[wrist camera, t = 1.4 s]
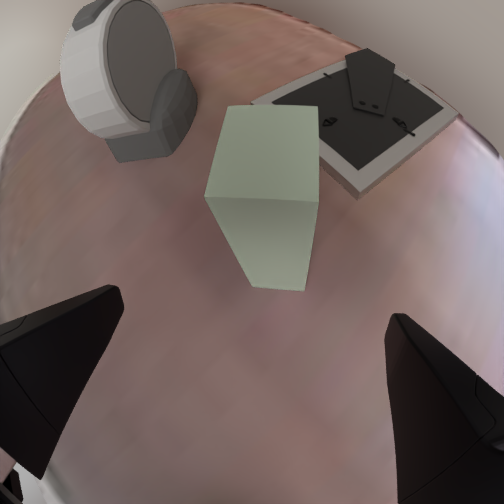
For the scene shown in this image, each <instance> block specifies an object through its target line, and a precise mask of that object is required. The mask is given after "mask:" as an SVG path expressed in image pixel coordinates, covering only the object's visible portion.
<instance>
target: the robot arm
mask: <svg viewBox="0 0 504 504" xmlns="http://www.w3.org/2000/svg"><path fill="white" fill-rule="evenodd" d="M123 312H124V303H123V300H122V296H121V292H120V289H119V287H117V286H115V285H105V286H102V287H100V288H97V289H94V290H92V291H89V292H86V293H83V294H81V295H78V296H75V297H73V298H70V299H67V300H65V301H62V302H59V303H57V304H54V305H51V306H49V307H46V308H44V309H41V310H38V311H36V312H33V313H31V314H28V315H25V316H23V317H20V318H17V319H15V320H12V321H9V322H7V323H4V324H1V325H0V504H23V503H22V501H23V495H22V490H21V485H20V480H19V474H18V472H17V471H15V470H14V469H13V467H14V465H15V464H16V462H18V463H19V464H20V465H21V466H22V467H24V468H25V469H26V470H27V471H29V472H30V473H31V474H33V475H34V476H35V477H37V478H38V479H39V480H41V479H42V477H43V475H44V473H45V470H46V468H47V465H48V463H49V461H50V458H51V456H52V454H53V452H54V449H55V447H56V445H57V443H58V440H59V438H60V435H61V434H62V431H63V429H64V427H65V425H66V423H67V421H68V419H69V417H70V415H71V413H72V411H73V409H74V407H75V405H76V403H77V401H78V399H79V397H80V395H81V393H82V391H83V389H84V388H85V386H86V384H87V382H88V380H89V378H90V376H91V375H92V373H93V371H94V369H95V367H96V365H97V364H98V362H99V360H100V358H101V357H102V355H103V353H104V351H105V350H106V348H107V346H108V344H109V342H110V340H111V338H112V335H113V333H114V331H115V329H116V327H117V325H118V322H119V320H120V318H121V316H122V314H123ZM384 342H385V356H386V373H387V386H388V393H389V400H390V407H391V414H392V422H393V431H394V441H395V453H396V468H397V492H398V504H504V397H503V396H502V395H501V394H499V393H498V392H497V391H496V390H495V389H493V388H492V387H491V386H490V385H489V384H488V383H487V382H485V381H484V380H483V379H482V378H481V377H480V376H479V375H476V373H475V372H474V371H473V370H472V369H471V368H470V367H468V366H467V365H466V364H465V363H464V362H463V361H462V360H460V359H459V358H458V357H457V356H456V355H455V354H453V353H452V352H451V351H450V350H449V349H448V348H446V347H445V346H444V345H443V344H442V343H440V342H439V341H438V340H437V339H436V338H434V337H433V336H432V335H431V334H430V333H428V332H427V331H426V330H425V329H424V328H422V327H421V326H420V325H419V324H417V323H416V322H415V321H414V320H412V319H411V318H410V317H409V316H408V315H406V314H404V313H394V314H392V316H391V318H390V321H389V324H388V327H387V330H386V333H385V339H384Z"/></svg>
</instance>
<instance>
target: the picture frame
mask: <svg viewBox="0 0 504 504" xmlns="http://www.w3.org/2000/svg"><path fill="white" fill-rule="evenodd" d="M345 58H346V60H343V61H340V62H338V63H335V64H332V65H330V66H327V67H325V68H322V69H320V70H317V71H315V72H313V73H310V74H308V75H306V76H303V77H301V78H299V79H297V80H294V81H292V82H290V83H288V84H286V85H283V86H281V87H279V88H277V89H275V90H273V91H271V92H269V93H267V94H265V95H263V96H261V97H259V98H257V99H255V100H253V101H251V102H250V103H251V105H299V106H318V126H319V165H320V166H321V167H322V168H323V169H324V170H325V171H326V172H327V173H328V174H330V175H331V176H332V177H333V178H334V179H335V180H336V181H337V182H338V183H339V184H340V185H341V186H343V187H344V188H345V189H346V190H347V191H348V192H349V193H350V194H351V195H352V196H353V197H354V198H355V199H356V200H359V199H360V198H361V197H362V196H364V195H365V194H366V193H368V192H369V191H370V190H371V189H373V188H374V187H375V186H376V185H378V184H379V183H380V182H381V181H383V180H384V179H385V178H386V177H387V176H389V175H390V174H391V173H392V172H394V171H395V170H396V169H397V168H399V167H400V166H401V165H402V164H404V163H405V162H406V161H407V160H408V159H410V158H411V157H412V156H413V155H415V154H416V153H417V152H418V151H419V150H421V149H422V148H423V147H424V146H425V145H427V144H428V143H429V142H430V141H431V140H433V139H434V138H435V137H436V136H437V135H439V134H440V133H441V132H442V131H443V130H445V129H446V128H447V127H448V126H449V125H450V124H452V123H453V122H454V121H455V120H456V118H457V116H458V114H459V113H458V112H457V111H455V110H454V109H453V108H452V107H450V106H449V105H448V104H447V103H445V102H444V101H443V100H441V99H440V98H439V97H437V96H436V95H435V94H433V93H432V92H431V91H429V90H428V89H426V88H425V87H424V86H422V85H421V84H419V83H418V82H416V81H415V80H413V79H412V78H410V77H409V76H407V75H405V74H404V73H402V72H401V71H399V70H397V69H396V68H395V64H394V63H392V62H390V61H389V60H387V59H385V58H384V57H382V56H380V55H378V54H377V53H375V52H373V51H371V50H370V49H368V48H367V49H363V50H360V51H357V52H354V53H351V54H348V55H345Z"/></svg>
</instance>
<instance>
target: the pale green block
mask: <svg viewBox="0 0 504 504" xmlns="http://www.w3.org/2000/svg"><path fill="white" fill-rule="evenodd" d="M204 198H205V200H206V202H207V204H208V206H209V208H210V209H211V211H212V213H213V215H214V217H215V219H216V221H217V223H218V224H219V226H220V228H221V230H222V232H223V234H224V236H225V238H226V239H227V241H228V243H229V245H230V247H231V249H232V251H233V252H234V254H235V256H236V258H237V260H238V262H239V263H240V265H241V267H242V269H243V271H244V273H245V274H246V276H247V278H248V280H249V282H250V284H251V285H252V287H258V288H269V289H281V290H293V291H304V290H305V285H306V279H307V274H308V268H309V262H310V257H311V251H312V245H313V238H314V232H315V225H316V219H317V212H318V205H319V126H318V106H299V105H238V106H228V108H227V112H226V115H225V119H224V122H223V126H222V129H221V133H220V137H219V140H218V144H217V148H216V151H215V155H214V159H213V163H212V167H211V170H210V174H209V178H208V182H207V186H206V191H205V195H204Z"/></svg>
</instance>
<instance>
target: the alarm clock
mask: <svg viewBox="0 0 504 504" xmlns="http://www.w3.org/2000/svg"><path fill="white" fill-rule="evenodd" d="M60 70H61V84H62V87H63V91H64V94H65V97H66V100H67V103H68V105H69V107H70V108H71V110H72V112H73V113H74V115H75V117H76V119H77V120H78V121H79V122H80V123H81V124H82V125H83V126H84V127H85V128H86V129H87V130H88V131H89V132H91V133H93V134H95V135H97V136H99V137H101V138H105V141H106V143H107V144H108V146H109V148H110V150H111V151H112V153H113V155H114V156H115V158H116V160H117V161H118V162H119V163H122V162H128V161H135V160H143V159H150V158H159V157H167V156H169V155H171V154H173V152H174V151H175V150H176V149H177V147H178V146H179V145H180V144H181V142H182V140H183V139H184V137H185V135H186V134H187V132H188V131H189V129H190V127H191V124H192V122H193V120H194V117H195V114H196V109H197V94H196V91H195V89H194V87H193V85H192V82H191V80H190V78H189V76H188V74H187V72H186V71H184V70H182V69H177V61H176V53H175V47H174V42H173V38H172V35H171V32H170V29H169V26H168V24H167V22H166V20H165V18H164V16H163V14H162V13H161V12H160V10H159V9H158V7H157V6H156V5H155V4H154V3H152V2H151V1H150V0H96V1H95V2H92V3H90V4H88V5H86V6H84V7H83V8H82V9H81V10H80V11H79V12H78V13H77V15H76V16H75V18H74V21H73V23H72V26H71V28H70V30H69V32H68V34H67V36H66V38H65V40H64V43H63V48H62V53H61V59H60Z"/></svg>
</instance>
